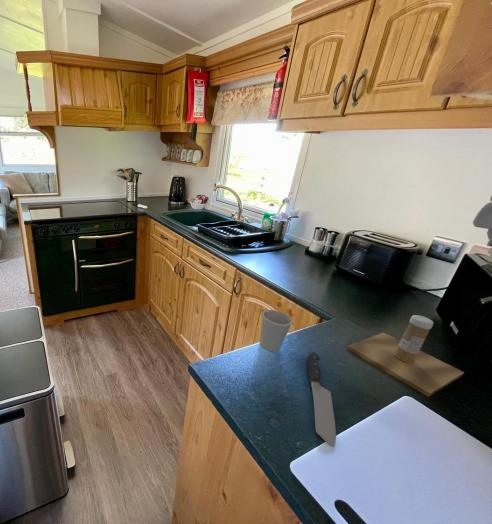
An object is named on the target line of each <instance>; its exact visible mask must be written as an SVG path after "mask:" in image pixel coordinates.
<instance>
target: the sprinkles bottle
mask: <svg viewBox="0 0 492 524" xmlns="http://www.w3.org/2000/svg"><path fill="white" fill-rule="evenodd" d="M434 324H435V323H434V321H433V320H432V319H430V318H429V317H426V316H423V315H420V314H419V315H418V314H413V315H412V316H411V317H410V319H409V323H408V325H407V328H406V330H405V331H404V333H403V335H402V337H401V339H400V343H399V346H398V348H397V350H396V352H395V353H394V355H395V356H396V357H397V358H398V359H400V360H402V361H404V362H408V363H413V362H414V359H415V357H416V355H417V353H418V352H419V350H420V351H421V348H422V347H423V344H424V342H425V340H426V338H427V336H428V334H429V332H430V331H431V329H432V328H433V326H434Z"/></svg>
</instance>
